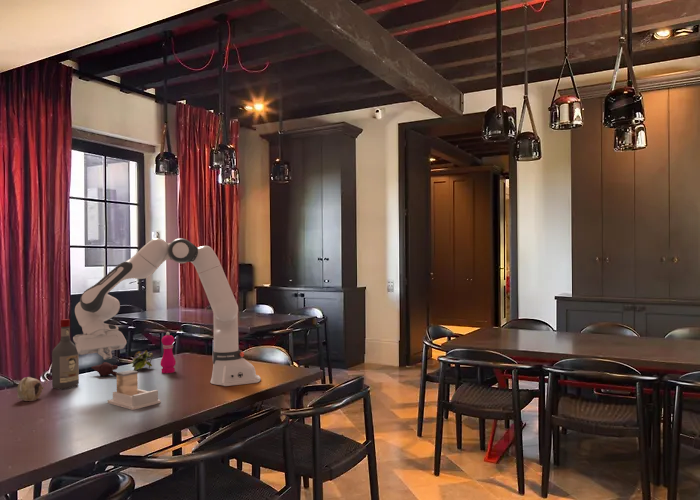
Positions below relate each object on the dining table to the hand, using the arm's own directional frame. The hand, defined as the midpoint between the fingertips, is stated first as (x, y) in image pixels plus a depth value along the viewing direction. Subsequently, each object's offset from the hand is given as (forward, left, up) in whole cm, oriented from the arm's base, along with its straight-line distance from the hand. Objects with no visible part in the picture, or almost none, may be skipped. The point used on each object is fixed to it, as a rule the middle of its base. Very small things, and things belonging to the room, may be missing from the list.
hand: (108, 358), depth 225 cm
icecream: (+10, -43, -16) cm, 47 cm away
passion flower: (-7, -53, -16) cm, 56 cm away
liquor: (+22, -24, -16) cm, 36 cm away
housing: (-12, +14, -16) cm, 24 cm away
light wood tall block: (-9, +10, -14) cm, 20 cm away
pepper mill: (-20, -43, -16) cm, 50 cm away
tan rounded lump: (+30, -4, -16) cm, 34 cm away
